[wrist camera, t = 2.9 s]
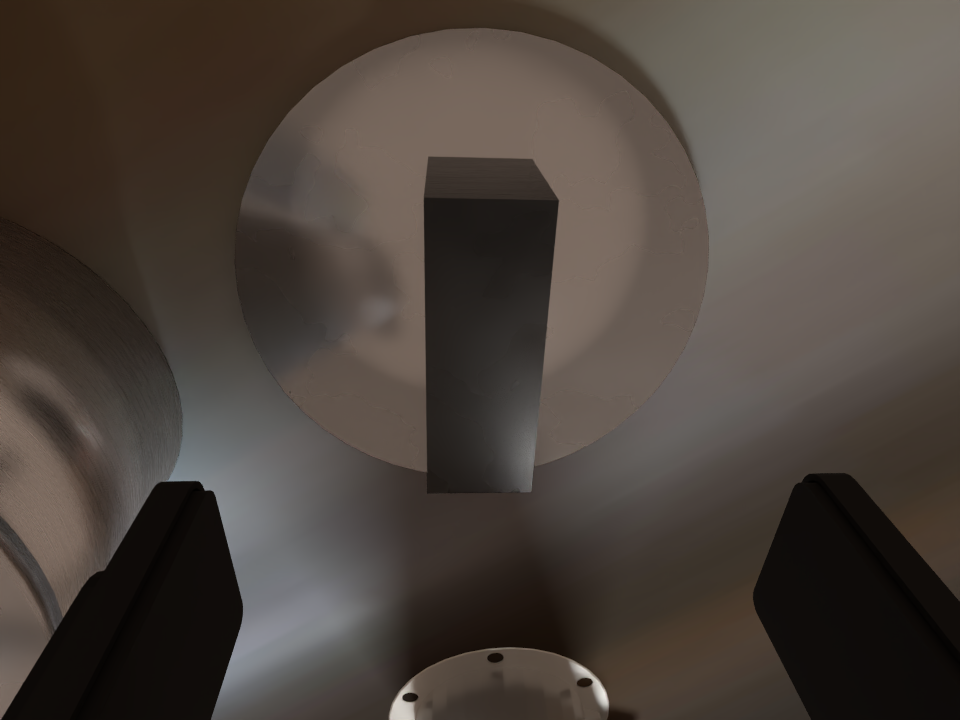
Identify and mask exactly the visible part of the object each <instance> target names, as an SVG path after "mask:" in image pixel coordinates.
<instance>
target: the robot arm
mask: <svg viewBox="0 0 960 720" xmlns="http://www.w3.org/2000/svg"><path fill="white" fill-rule="evenodd" d="M753 601H754V606H755V610H756V612H757V614H758V616H759V618H760V620H761V622H762V624H763V626H764V628H765V630H766V632H767V634H768V636H769V638H770V640H771V642H772V644H773V646H774V648H775V650H776V652H777V654H778V655H779V657H780V659H781V661H782V663H783V665H784V667H785V669H786V671H787V673H788V675H789V677H790V679H791V681H792V683H793V685H794V687H795V689H796V691H797V693H798V695H799V697H800V698H801V700H802V702H803V704H804V706H805V708H806V710H807V712H808V714H809V716H810V718H811V720H960V601H959V600H958V599H957V598H956V597H955V596H954V594H953V593H952V592H951V591H950V590H949V589H948V587H947V586H946V585H945V584H944V583H943V582H942V580H941V579H940V578H939V577H938V576H937V575H936V573H935V572H934V571H933V570H932V569H931V568H930V566H929V565H928V564H927V563H926V562H925V561H924V559H923V558H922V557H921V556H920V555H919V554H918V552H917V551H916V550H915V549H914V548H913V547H912V546H911V544H910V543H909V542H908V541H907V540H906V539H905V537H904V536H903V535H902V534H901V533H900V532H899V530H898V529H897V528H896V527H895V526H894V525H893V523H892V522H891V521H890V520H889V519H888V518H887V516H886V515H885V514H884V513H883V512H882V511H881V509H880V508H879V507H878V506H877V505H876V504H875V502H874V501H873V500H872V499H871V498H870V497H869V495H868V494H867V493H866V492H865V491H864V490H863V488H862V487H861V486H860V485H859V484H858V483H857V481H856V480H855V479H854V478H853V477H851V476H850V475H848V474H845V473H820V474H808V475H807V476H806V477H805V478H804V479H803V481H802V483H797V484H796V485H795V486H794V488H793V490H792V493H791V496H790V498H789V501H788V503H787V506H786V508H785V511H784V514H783V516H782V519H781V521H780V524H779V526H778V529H777V532H776V534H775V537H774V539H773V542H772V544H771V547H770V550H769V552H768V555H767V557H766V560H765V563H764V565H763V568H762V570H761V573H760V575H759V578H758V581H757V583H756V586H755V588H754V592H753ZM242 617H243V603H242V599H241V595H240V591H239V587H238V583H237V579H236V575H235V571H234V567H233V563H232V559H231V555H230V552H229V548H228V544H227V540H226V536H225V532H224V528H223V524H222V520H221V516H220V512H219V508H218V505H217V501H216V497H215V494H214V492H213V491H204V488H203V486H202V484H201V483H200V482H198V481H176V482H159V483H157V484H156V485H155V487H154V488H153V489H152V491H151V493H150V494H149V496H148V498H147V499H146V501H145V503H144V504H143V506H142V508H141V509H140V511H139V513H138V515H137V516H136V518H135V520H134V521H133V523H132V525H131V526H130V528H129V530H128V531H127V533H126V535H125V536H124V538H123V540H122V542H121V543H120V545H119V547H118V548H117V550H116V552H115V553H114V555H113V557H112V558H111V560H110V562H109V564H108V565H107V567H106V569H105V570H104V571H98V572H96V573H95V574H94V575H92V576H91V577H89V579H88V580H87V581H86V583H85V584H84V585H83V587H82V588H81V590H80V591H79V593H78V595H77V596H76V598H75V599H74V601H73V603H72V604H71V606H70V608H69V609H68V611H67V613H66V614H65V616H64V617H63V619H62V621H61V622H60V624H59V626H58V627H57V629H56V630H55V632H54V634H53V635H52V637H51V639H50V640H49V642H48V644H47V645H46V647H45V648H44V650H43V652H42V653H41V655H40V657H39V658H38V660H37V661H36V663H35V665H34V666H33V668H32V670H31V671H30V673H29V675H28V676H27V678H26V679H25V681H24V683H23V684H22V686H21V688H20V689H19V691H18V693H17V694H16V696H15V697H14V699H13V701H12V702H11V704H10V706H9V707H8V709H7V710H6V712H5V714H4V715H3V717H2V719H1V720H211V717H212V714H213V711H214V708H215V705H216V701H217V698H218V695H219V692H220V689H221V686H222V683H223V680H224V677H225V674H226V670H227V667H228V664H229V661H230V658H231V655H232V652H233V649H234V646H235V642H236V639H237V636H238V633H239V630H240V627H241V623H242ZM492 653H500V654H502V655H503V660H501V661H500V662H496V663H494V662H490V661H488V660H487V657H488V655H490V654H492ZM581 678H590V679H592V683H591V684H590V685H589V686H585V687H581V686H578V685H577V681H578V680H580V679H581ZM406 693H415V694H417V695H418V699H417V700H415V701H405V700H403V698H402V696H403V695H404V694H406ZM608 713H609V700H608V696H607V692H606V690H605V688H604V686H603V685H602V683H601V682H600V680H599V679H598V678H597V677H596V676H595V675H594V674H593V673H592V672H591V671H590V670H589V669H587V668H586V667H584V666H582V665H581V664H579V663H577V662H576V661H574V660H572V659H569V658H566V657H564V656H561V655H558V654H556V653H551V652H546V651H542V650H537V649H528V648H514V647H509V648H490V649H483V650H478V651H472V652H467V653H463V654H460V655H457V656H454V657H450V658H447V659H445V660H442V661H440V662H438V663H436V664H434V665H432V666H430V667H428V668H426V669H424V670H423V671H421V672H420V673H419V674H417V675H416V676H414V677H413V678H411V679H410V680H409V681H408V682H407V683H406V684H405V685H404V686H403V687H402V688H401V689H400V691H399V692H398V694H397V696H396V697H395V699H394V700H393V702H392V705H391V709H390V713H389V720H607V717H608Z"/></svg>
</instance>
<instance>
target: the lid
mask: <svg viewBox="0 0 960 720" xmlns="http://www.w3.org/2000/svg"><path fill="white" fill-rule="evenodd" d="M708 253H709V236H708V227H707V219H706V211H705V206H704V202H703V198H702V195H701V191H700V187H699V183H698V180H697V177H696V175H695V173H694V170H693V168H692V166H691V163H690V161H689V159H688V156H687V154H686V152H685V150H684V148H683V146H682V145H681V143H680V142H679V140H678V138H677V137H676V135H675V134H674V132H673V130H672V129H671V127H670V126H669V124H668V122H667V121H666V120H665V119H664V118H663V117H662V115H661V114H660V113H659V112H658V111H657V110H656V108H655V107H654V106H653V105H652V104H651V103H650V101H649V100H648V99H647V98H646V97H645V96H644V95H643V94H642V93H641V92H639V91H638V90H637V89H636V88H635V87H634V86H632V85H631V84H630V83H629V82H628V81H627V80H625V79H624V78H623V77H622V76H621V75H620V74H618V73H616V72H615V71H613V70H612V69H610V68H608V67H607V66H605V65H604V64H602V63H601V62H599V61H597V60H596V59H594V58H593V57H591V56H589V55H587V54H585V53H582V52H580V51H578V50H575V49H573V48H571V47H568V46H566V45H564V44H562V43H559V42H557V41H553V40H549V39H546V38H542V37H538V36H534V35H531V34H527V33H523V32H517V31H508V30H499V29H490V28H461V29H445V30H439V31H434V32H429V33H424V34H418V35H413V36H410V37H407V38H404V39H401V40H398V41H395V42H392V43H390V44H387V45H384V46H381V47H378V48H376V49H374V50H372V51H370V52H368V53H366V54H364V55H362V56H360V57H358V58H356V59H355V60H353V61H351V62H349V63H347V64H345V65H343V66H342V67H340V68H339V69H338V70H336V71H335V72H334V73H332V74H331V75H330V76H328V77H327V78H325V79H324V80H323V81H321V82H320V83H319V84H317V85H316V86H315V87H313V88H312V89H311V90H310V91H309V92H308V93H307V94H306V95H305V96H304V97H303V98H302V99H301V100H300V101H299V102H298V103H297V104H296V105H295V106H294V107H293V108H292V109H291V110H290V111H289V112H288V114H287V115H286V116H285V118H284V119H283V121H282V122H281V123H280V125H279V126H278V127H277V129H276V130H275V131H274V133H273V134H272V135H271V137H270V138H269V139H268V141H267V143H266V145H265V147H264V149H263V151H262V153H261V155H260V156H259V158H258V160H257V162H256V164H255V166H254V168H253V170H252V173H251V176H250V178H249V181H248V184H247V187H246V190H245V193H244V196H243V198H242V202H241V208H240V213H239V218H238V223H237V229H236V244H235V269H236V279H237V289H238V294H239V298H240V303H241V307H242V311H243V315H244V319H245V322H246V324H247V327H248V329H249V332H250V334H251V337H252V339H253V342H254V344H255V347H256V349H257V350H258V352H259V354H260V356H261V358H262V359H263V361H264V363H265V365H266V367H267V368H268V370H269V372H270V373H271V374H272V376H273V377H274V378H275V380H276V381H277V382H278V384H279V385H280V386H281V388H282V389H283V391H284V392H285V393H286V394H287V395H288V396H289V397H290V398H291V399H292V401H293V402H294V403H295V404H296V405H297V406H298V407H299V408H300V409H301V410H302V411H303V412H304V413H305V414H306V415H308V416H309V417H310V418H311V419H312V420H314V421H315V422H316V423H317V424H318V425H320V426H321V427H322V428H323V429H324V430H326V431H327V432H329V433H331V434H332V435H334V436H335V437H337V438H338V439H340V440H341V441H343V442H344V443H346V444H348V445H350V446H352V447H354V448H356V449H358V450H360V451H362V452H364V453H366V454H368V455H370V456H372V457H375V458H378V459H380V460H383V461H386V462H388V463H391V464H394V465H397V466H401V467H405V468H409V469H413V470H417V471H422V472H427V493H510V492H531V490H532V480H533V469H534V467H535V466H539V465H543V464H546V463H549V462H552V461H554V460H557V459H559V458H562V457H565V456H567V455H570V454H572V453H574V452H576V451H578V450H580V449H582V448H584V447H586V446H588V445H589V444H591V443H593V442H595V441H597V440H598V439H600V438H601V437H603V436H604V435H606V434H607V433H609V432H610V431H612V430H613V429H615V428H616V427H617V426H619V425H620V424H621V423H622V422H624V421H625V420H626V419H627V418H628V417H630V416H631V415H632V414H633V413H634V412H636V411H637V410H638V409H639V408H640V407H641V406H642V405H643V404H644V402H645V401H646V400H647V399H648V398H649V397H650V396H651V395H652V394H653V393H654V392H655V391H656V390H657V388H658V387H659V386H660V384H661V383H662V382H663V380H664V379H665V378H666V377H667V375H668V374H669V373H670V371H671V370H672V368H673V366H674V365H675V363H676V361H677V360H678V358H679V356H680V355H681V353H682V351H683V350H684V348H685V346H686V344H687V341H688V339H689V337H690V334H691V332H692V330H693V328H694V325H695V323H696V320H697V317H698V313H699V310H700V307H701V303H702V300H703V296H704V291H705V284H706V278H707V272H708Z"/></svg>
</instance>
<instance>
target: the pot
mask: <svg viewBox="0 0 960 720" xmlns="http://www.w3.org/2000/svg"><path fill="white" fill-rule="evenodd" d="M181 440H182V411H181V405H180V399H179V394H178V391H177V388H176V385H175V381H174V378H173V375H172V372H171V370H170V368H169V366H168V364H167V362H166V360H165V358H164V356H163V354H162V352H161V350H160V348H159V346H158V345H157V343H156V342H155V340H154V339H153V337H152V336H151V334H150V332H149V331H148V329H147V328H146V326H145V325H144V324H143V323H142V321H141V320H140V319H139V318H138V317H137V315H136V314H135V313H134V312H133V310H132V309H131V308H130V307H129V306H128V304H127V303H126V302H125V301H124V300H123V299H122V298H121V297H120V296H119V295H118V294H117V293H116V292H115V291H114V290H113V289H112V288H111V287H110V286H108V285H107V284H106V283H105V282H104V281H103V280H102V279H101V278H100V277H98V276H97V275H96V274H95V273H93V272H92V271H91V270H90V269H88V268H87V267H86V266H85V265H83V264H82V263H81V262H80V261H78V260H77V259H75V258H74V257H72V256H71V255H69V254H68V253H66V252H65V251H63V250H62V249H60V248H59V247H57V246H56V245H54V244H52V243H51V242H49V241H48V240H46V239H44V238H42V237H40V236H38V235H36V234H34V233H32V232H31V231H29V230H27V229H25V228H23V227H21V226H19V225H17V224H15V223H12V222H10V221H7V220H5V219H3V218H0V720H1V719H2V717H3V715H4V714H5V712H6V710H7V709H8V707H9V706H10V704H11V702H12V701H13V699H14V697H15V696H16V694H17V693H18V691H19V689H20V688H21V686H22V684H23V683H24V681H25V679H26V678H27V676H28V675H29V673H30V671H31V670H32V668H33V666H34V665H35V663H36V661H37V660H38V658H39V657H40V655H41V653H42V652H43V650H44V648H45V647H46V645H47V644H48V642H49V640H50V639H51V637H52V635H53V634H54V632H55V630H56V629H57V627H58V626H59V624H60V622H61V621H62V619H63V617H64V616H65V614H66V613H67V611H68V609H69V608H70V606H71V604H72V603H73V601H74V599H75V598H76V596H77V595H78V593H79V591H80V590H81V588H82V587H83V585H84V584H85V583H86V581H87V580H88V579H89V577H91V576H92V575H94V574H95V573H96V572H98V571H104V570H105V569H106V567H107V565H108V564H109V562H110V560H111V558H112V557H113V555H114V553H115V552H116V550H117V548H118V547H119V545H120V543H121V542H122V540H123V538H124V536H125V535H126V533H127V531H128V530H129V528H130V526H131V525H132V523H133V521H134V520H135V518H136V516H137V515H138V513H139V511H140V509H141V508H142V506H143V504H144V503H145V501H146V499H147V498H148V496H149V494H150V493H151V491H152V489H153V488H154V487H155V485H156V484H157V483H159V482H167V480H168V479H169V477H170V475H171V474H172V472H173V470H174V467H175V464H176V461H177V459H178V456H179V452H180V446H181Z"/></svg>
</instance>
